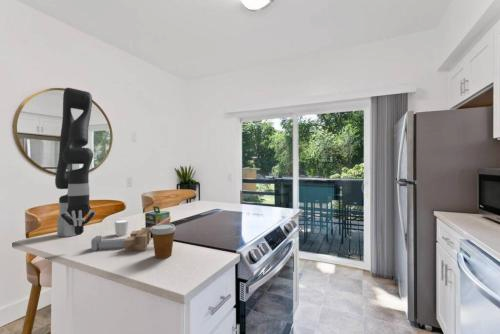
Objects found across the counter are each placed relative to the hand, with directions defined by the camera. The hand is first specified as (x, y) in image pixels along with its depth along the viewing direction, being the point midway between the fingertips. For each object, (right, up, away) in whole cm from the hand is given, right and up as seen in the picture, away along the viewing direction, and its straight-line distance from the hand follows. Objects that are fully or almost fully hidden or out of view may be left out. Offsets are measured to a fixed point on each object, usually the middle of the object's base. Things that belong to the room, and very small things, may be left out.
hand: (79, 234), depth 102 cm
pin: (+12, -7, +3) cm, 14 cm away
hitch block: (+23, -7, +6) cm, 25 cm away
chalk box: (+24, -7, +25) cm, 35 cm away
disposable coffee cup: (+38, -7, -5) cm, 39 cm away
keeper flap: (+32, +2, +9) cm, 33 cm away
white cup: (+6, -7, +24) cm, 25 cm away
